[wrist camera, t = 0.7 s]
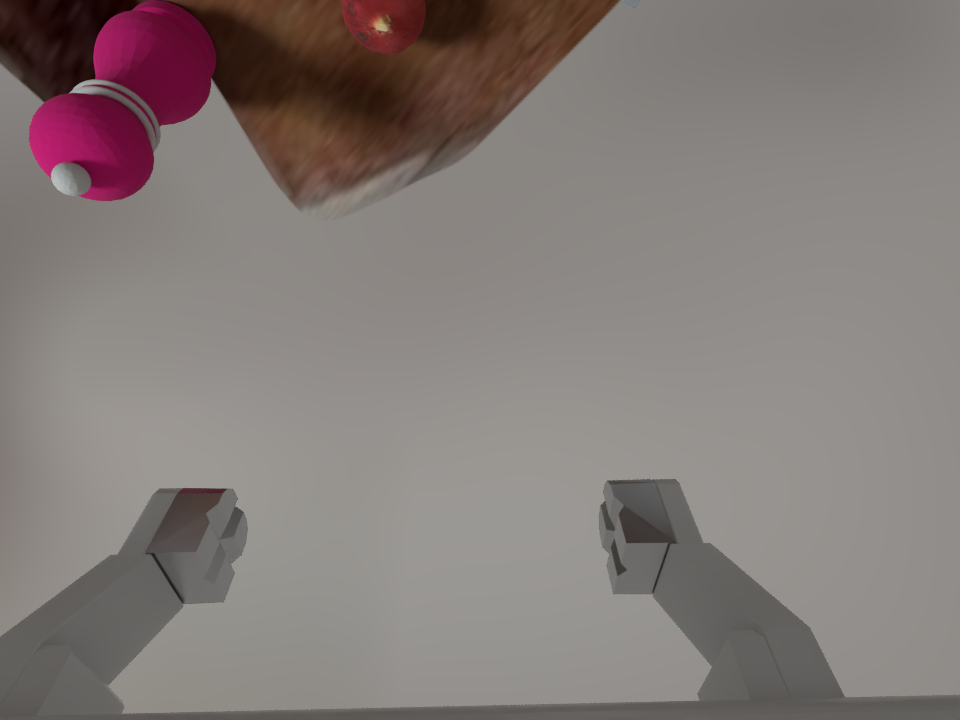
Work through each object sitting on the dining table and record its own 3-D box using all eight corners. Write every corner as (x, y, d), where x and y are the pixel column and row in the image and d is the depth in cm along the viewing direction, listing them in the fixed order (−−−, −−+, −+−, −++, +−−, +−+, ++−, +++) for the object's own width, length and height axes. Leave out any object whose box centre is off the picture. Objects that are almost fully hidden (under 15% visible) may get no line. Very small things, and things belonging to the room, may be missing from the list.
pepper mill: (97, 11, 40) (-56, 148, 27) (181, -24, 39) (63, 102, 26) (166, 104, 46) (65, 256, 33) (242, 76, 44) (169, 222, 32)
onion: (375, 47, 44) (369, 91, 38) (329, -29, 40) (315, 8, 34) (439, 7, 42) (441, 48, 37) (397, -77, 38) (393, -44, 33)
